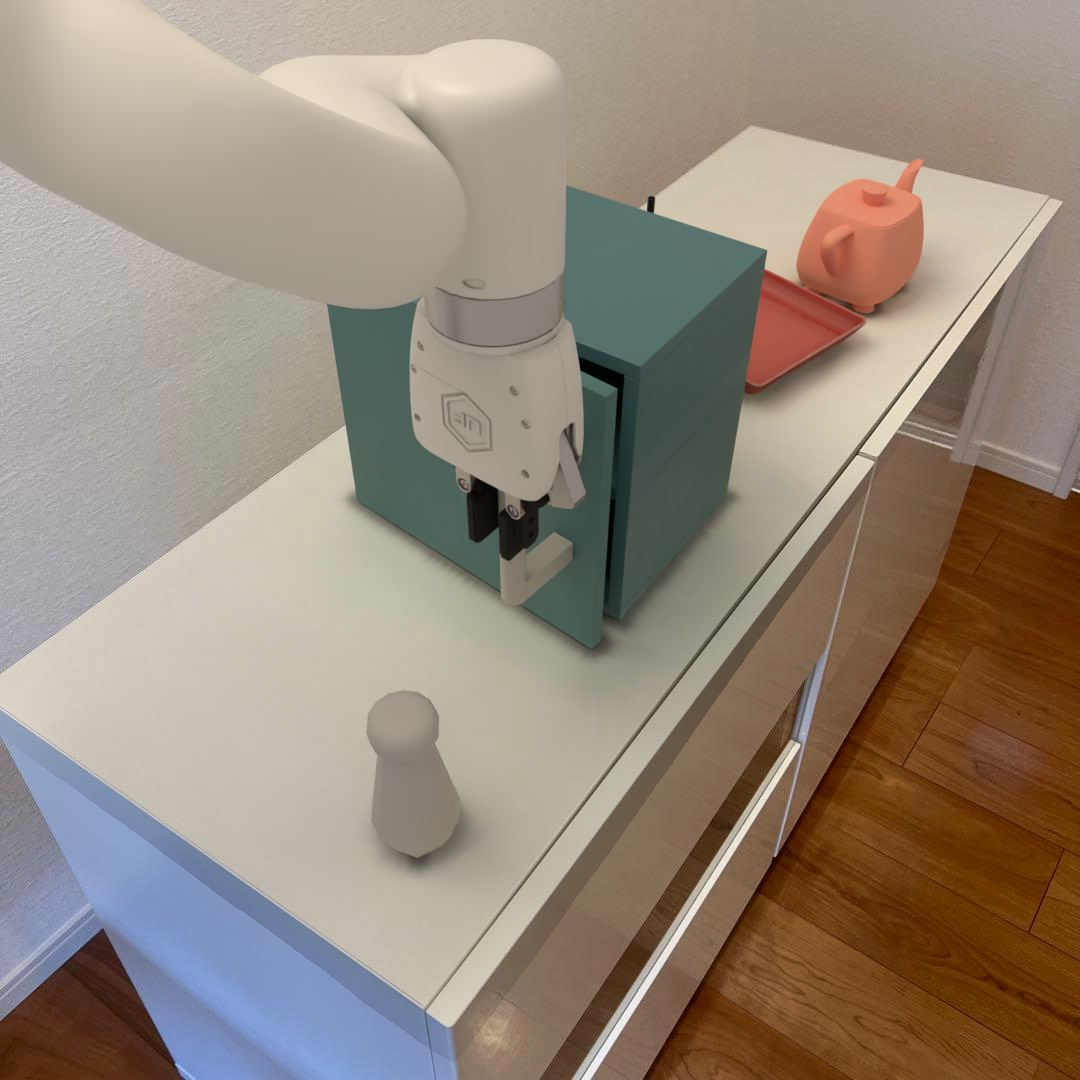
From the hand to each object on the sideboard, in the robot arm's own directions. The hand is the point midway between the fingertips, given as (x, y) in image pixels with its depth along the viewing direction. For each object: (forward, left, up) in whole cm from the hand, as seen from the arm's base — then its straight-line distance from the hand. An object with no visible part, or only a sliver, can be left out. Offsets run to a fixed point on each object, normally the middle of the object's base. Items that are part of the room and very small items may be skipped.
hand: (503, 537), depth 70 cm
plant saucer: (+43, +28, -15) cm, 53 cm away
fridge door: (0, +11, -15) cm, 19 cm away
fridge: (+13, +17, -15) cm, 26 cm away
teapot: (+61, +31, -15) cm, 70 cm away
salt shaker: (-11, -8, -15) cm, 21 cm away
